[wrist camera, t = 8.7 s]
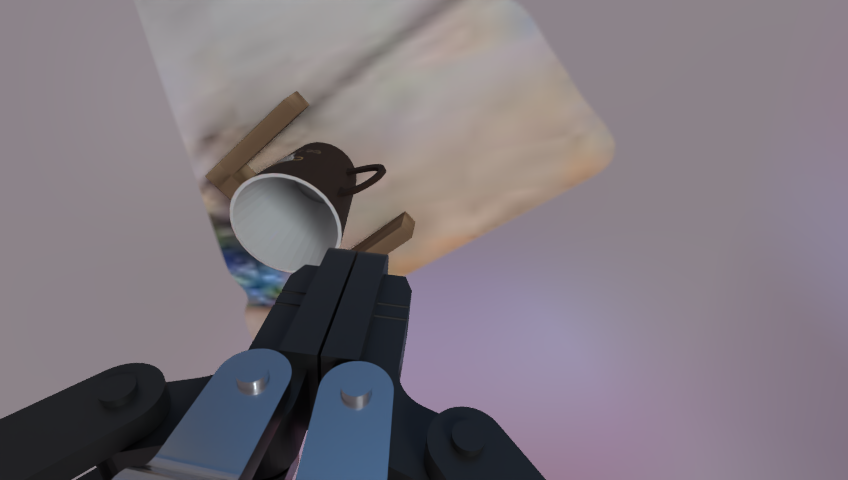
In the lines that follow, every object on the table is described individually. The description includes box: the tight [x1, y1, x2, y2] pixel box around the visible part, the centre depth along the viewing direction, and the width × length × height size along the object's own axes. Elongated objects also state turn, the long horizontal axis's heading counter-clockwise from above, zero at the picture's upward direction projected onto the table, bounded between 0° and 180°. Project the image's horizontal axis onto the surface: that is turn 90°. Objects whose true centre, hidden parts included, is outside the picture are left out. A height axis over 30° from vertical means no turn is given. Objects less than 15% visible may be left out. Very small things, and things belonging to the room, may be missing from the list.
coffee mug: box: [230, 142, 386, 273], centre depth 38 cm, size 12×9×10 cm
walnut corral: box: [205, 91, 415, 254], centre depth 42 cm, size 16×11×3 cm
